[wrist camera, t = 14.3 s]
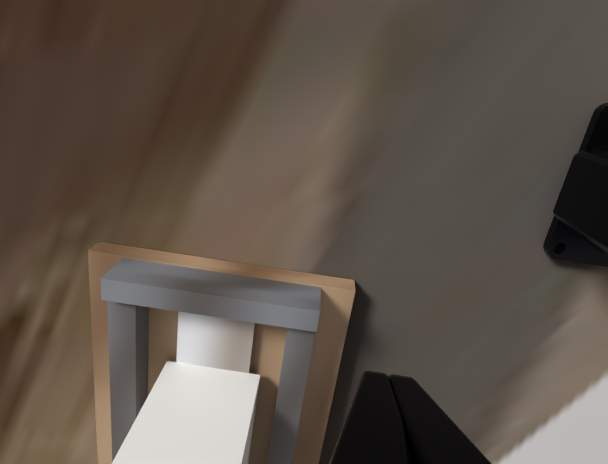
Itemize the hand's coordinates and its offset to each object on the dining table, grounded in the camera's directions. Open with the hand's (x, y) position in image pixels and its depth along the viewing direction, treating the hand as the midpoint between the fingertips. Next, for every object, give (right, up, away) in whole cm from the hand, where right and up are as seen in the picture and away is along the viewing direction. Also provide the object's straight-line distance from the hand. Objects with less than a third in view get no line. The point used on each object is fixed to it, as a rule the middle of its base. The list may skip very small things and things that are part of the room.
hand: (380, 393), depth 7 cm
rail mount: (-6, -7, +16) cm, 18 cm away
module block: (-6, -7, +15) cm, 17 cm away
